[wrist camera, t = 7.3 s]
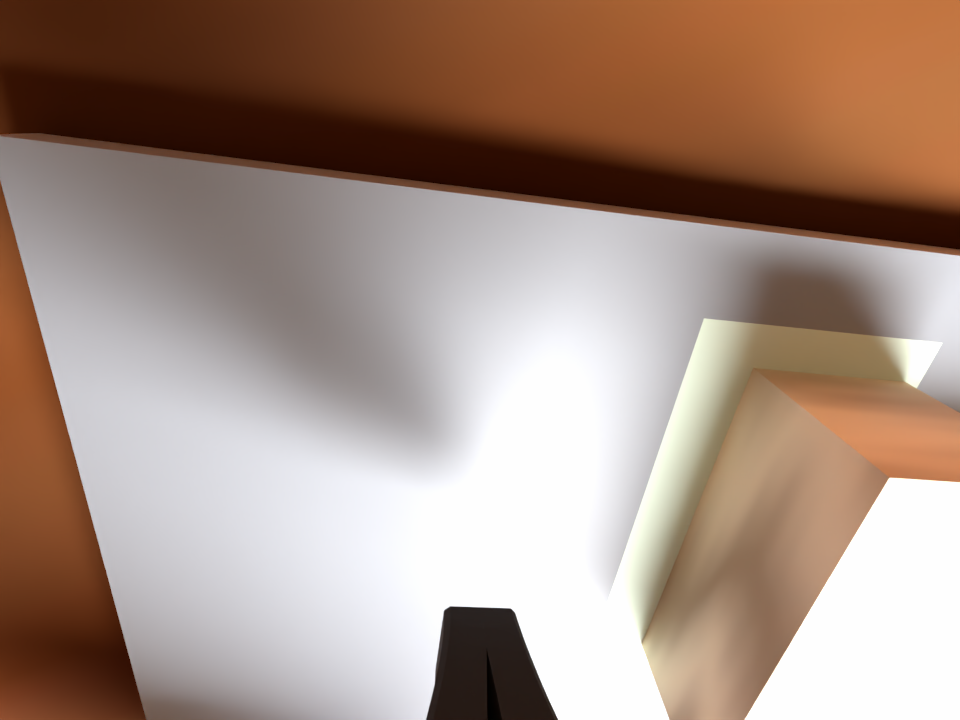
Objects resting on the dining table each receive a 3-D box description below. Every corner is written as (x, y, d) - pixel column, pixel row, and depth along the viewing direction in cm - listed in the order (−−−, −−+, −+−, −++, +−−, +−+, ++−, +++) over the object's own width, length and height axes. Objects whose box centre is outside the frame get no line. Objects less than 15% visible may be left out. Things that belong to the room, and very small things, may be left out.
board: (886, 702, 20) (910, 734, 19) (167, 692, 17) (149, 730, 16) (1216, 281, 13) (1286, 296, 12) (38, 133, 10) (-12, 135, 9)
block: (944, 652, 17) (1077, 793, 14) (641, 644, 16) (698, 797, 12) (1146, 404, 13) (1416, 513, 9) (753, 368, 12) (889, 477, 8)
